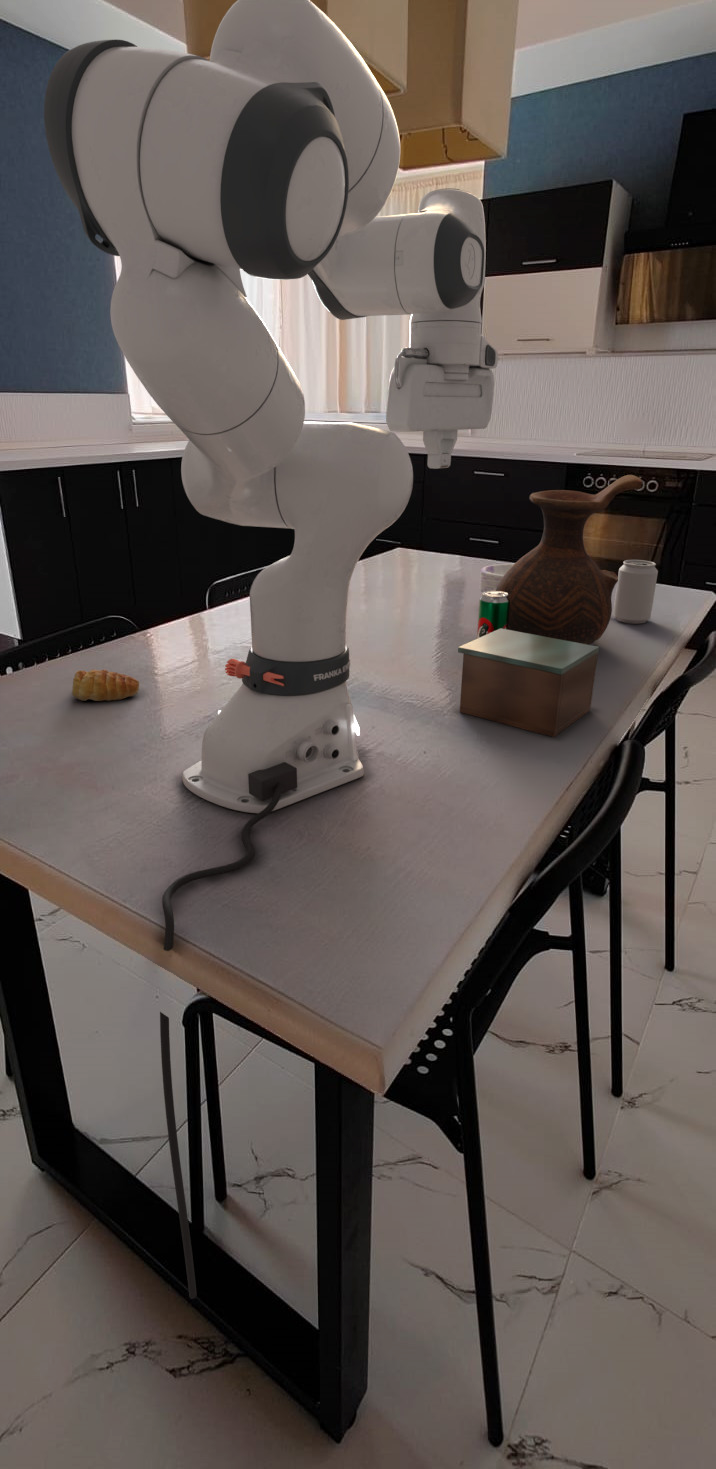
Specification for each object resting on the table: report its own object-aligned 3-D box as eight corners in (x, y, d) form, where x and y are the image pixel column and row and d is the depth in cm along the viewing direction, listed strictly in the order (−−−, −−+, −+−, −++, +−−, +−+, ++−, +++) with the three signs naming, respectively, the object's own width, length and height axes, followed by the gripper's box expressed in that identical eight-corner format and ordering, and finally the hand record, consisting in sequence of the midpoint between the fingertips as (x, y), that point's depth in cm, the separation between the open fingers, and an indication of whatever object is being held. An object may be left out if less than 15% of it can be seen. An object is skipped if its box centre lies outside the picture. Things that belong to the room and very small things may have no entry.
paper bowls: (470, 597, 177) (473, 562, 173) (535, 596, 178) (538, 561, 175) (488, 614, 163) (491, 576, 159) (557, 612, 164) (562, 575, 161)
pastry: (143, 686, 119) (140, 663, 118) (135, 702, 113) (132, 678, 112) (81, 688, 119) (78, 664, 117) (70, 704, 113) (66, 679, 111)
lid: (457, 652, 108) (458, 647, 108) (500, 633, 117) (500, 628, 117) (561, 674, 99) (562, 668, 99) (598, 652, 109) (599, 646, 108)
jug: (562, 669, 129) (585, 482, 117) (465, 641, 144) (477, 472, 132) (632, 646, 142) (658, 475, 130) (536, 622, 157) (552, 467, 145)
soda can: (504, 668, 130) (510, 597, 125) (474, 666, 130) (479, 596, 126) (505, 659, 134) (511, 591, 129) (476, 657, 135) (480, 589, 130)
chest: (459, 712, 111) (463, 653, 107) (500, 688, 120) (505, 634, 117) (553, 737, 103) (561, 675, 99) (590, 710, 112) (598, 652, 109)
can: (653, 618, 160) (663, 560, 156) (644, 626, 155) (654, 566, 150) (617, 613, 164) (625, 556, 159) (607, 621, 158) (615, 562, 154)
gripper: (419, 344, 86) (415, 474, 92) (504, 354, 101) (496, 464, 107) (374, 346, 90) (372, 471, 95) (463, 355, 105) (457, 462, 110)
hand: (438, 467), depth 101 cm, fingers closed
